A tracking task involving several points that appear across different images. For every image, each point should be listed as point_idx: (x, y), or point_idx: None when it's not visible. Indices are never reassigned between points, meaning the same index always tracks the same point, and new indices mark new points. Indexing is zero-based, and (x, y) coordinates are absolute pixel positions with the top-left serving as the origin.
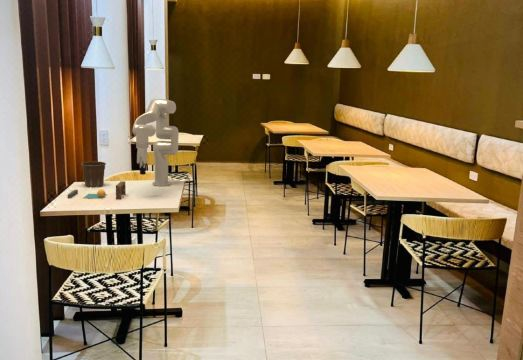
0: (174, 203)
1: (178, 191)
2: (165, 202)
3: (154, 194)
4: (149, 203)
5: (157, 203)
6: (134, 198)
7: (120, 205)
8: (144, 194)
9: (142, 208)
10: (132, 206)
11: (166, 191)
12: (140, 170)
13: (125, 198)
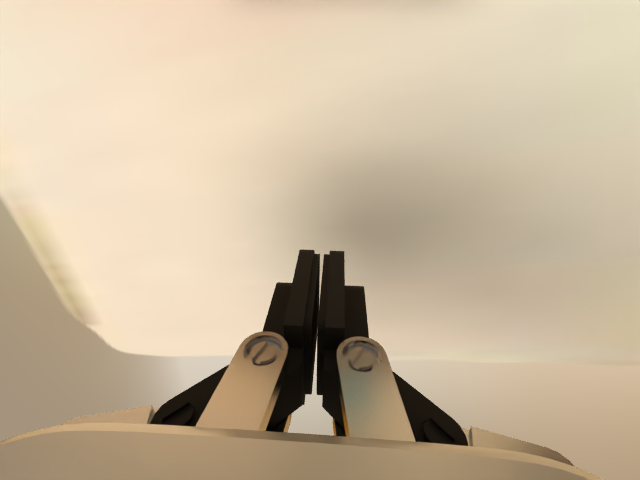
0: (198, 349)
1: (506, 359)
2: (209, 312)
3: (432, 237)
4: (157, 233)
5: (172, 276)
6: (285, 101)
7: (11, 20)
8: (439, 163)
9: (18, 207)
10: (32, 133)
11: (523, 301)
12: (291, 298)
13: (274, 7)
